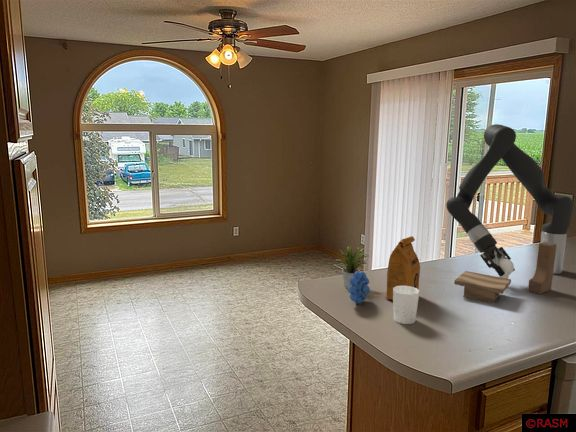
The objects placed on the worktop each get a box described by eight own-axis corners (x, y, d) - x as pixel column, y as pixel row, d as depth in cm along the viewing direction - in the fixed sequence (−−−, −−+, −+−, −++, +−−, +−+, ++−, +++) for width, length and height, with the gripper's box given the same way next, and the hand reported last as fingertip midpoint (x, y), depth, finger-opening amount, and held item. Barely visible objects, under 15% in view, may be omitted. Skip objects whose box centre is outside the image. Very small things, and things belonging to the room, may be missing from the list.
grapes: (360, 311, 142) (361, 277, 140) (343, 306, 147) (344, 272, 144) (377, 301, 151) (379, 269, 149) (361, 297, 155) (362, 265, 153)
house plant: (360, 296, 156) (362, 252, 153) (326, 289, 163) (327, 247, 160) (374, 285, 168) (376, 244, 165) (342, 278, 175) (343, 239, 172)
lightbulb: (490, 283, 171) (493, 256, 169) (505, 283, 172) (508, 256, 170) (499, 289, 165) (502, 261, 163) (515, 288, 165) (518, 261, 163)
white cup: (389, 322, 134) (391, 292, 132) (393, 313, 141) (395, 284, 140) (415, 327, 131) (417, 295, 130) (418, 317, 139) (420, 287, 137)
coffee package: (423, 296, 157) (427, 237, 153) (407, 306, 147) (411, 243, 143) (398, 289, 163) (401, 233, 159) (381, 298, 154) (384, 239, 150)
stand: (464, 285, 168) (465, 270, 167) (509, 294, 159) (511, 279, 158) (453, 295, 157) (454, 280, 156) (501, 306, 148) (502, 289, 147)
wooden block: (539, 294, 159) (545, 247, 156) (527, 291, 163) (532, 244, 159) (551, 289, 164) (557, 244, 161) (539, 286, 168) (544, 241, 164)
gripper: (479, 235, 166) (506, 271, 159) (497, 230, 175) (524, 265, 168) (465, 246, 171) (491, 281, 164) (483, 240, 180) (509, 274, 173)
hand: (507, 273), depth 166 cm, fingers open, 7 cm apart
